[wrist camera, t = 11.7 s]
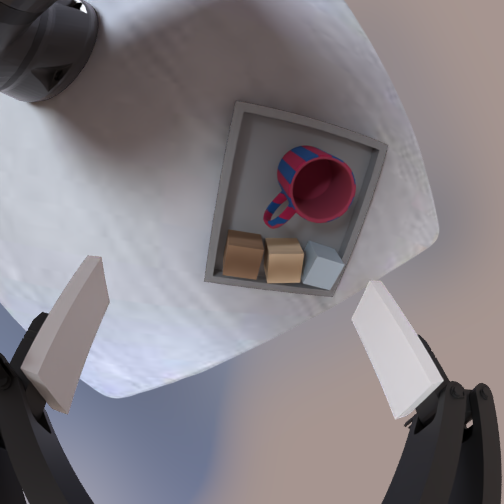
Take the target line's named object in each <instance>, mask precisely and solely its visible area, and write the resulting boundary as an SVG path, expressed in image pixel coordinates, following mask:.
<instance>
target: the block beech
mask: <svg viewBox="0 0 504 504" xmlns="http://www.w3.org/2000/svg"><path fill="white" fill-rule="evenodd" d="M303 259H304V252H303V250H302V248H301V246H300V244H299V242H298V240H297V238H265V252H264V270H265V275H266V280H267V283H300V279H301V272H302V265H303Z"/></svg>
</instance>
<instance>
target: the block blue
mask: <svg viewBox="0 0 504 504" xmlns="http://www.w3.org/2000/svg"><path fill="white" fill-rule="evenodd" d="M303 252H304V259H303V265H302V272H301V280H302V282H303V284H307V285H311V286H315V287H319V288H323V289H327V290H330V289H331V288H332V286H333V284H334V283H335V281H336V279H337V278H338V276H339V274H340V272H341V271H342V269H343V267H344V265H345V264H344V263H343V261H342V259H341V258H340V256H339V255H338V253H337V252H336V250H335V249H333V248H330V247H327V246H324V245H321V244H318V243H315V242H312V241H308V243H307V245H306V247H305V249H304V251H303Z"/></svg>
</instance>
